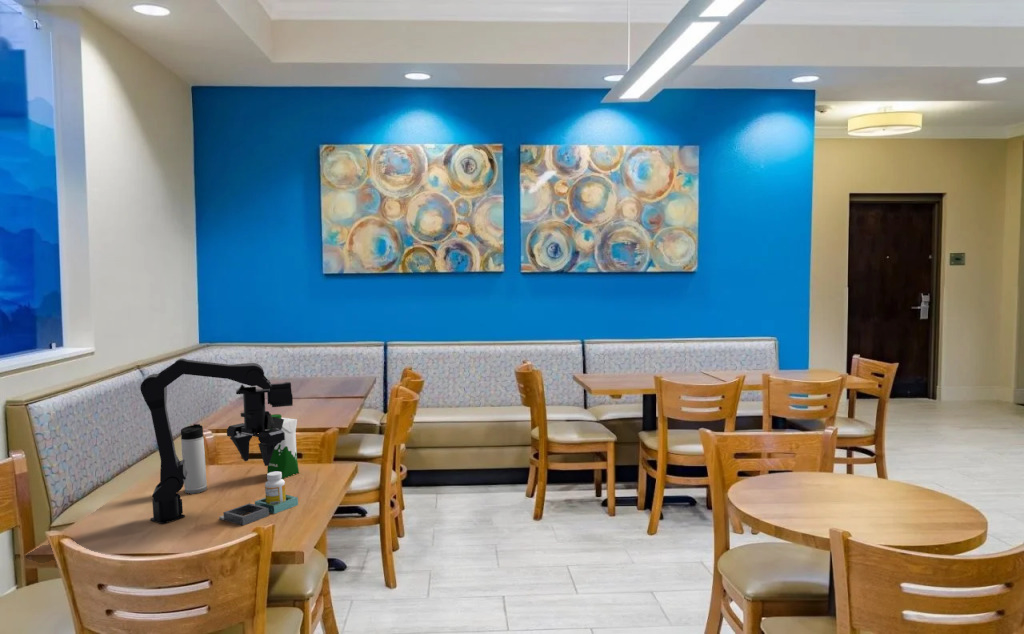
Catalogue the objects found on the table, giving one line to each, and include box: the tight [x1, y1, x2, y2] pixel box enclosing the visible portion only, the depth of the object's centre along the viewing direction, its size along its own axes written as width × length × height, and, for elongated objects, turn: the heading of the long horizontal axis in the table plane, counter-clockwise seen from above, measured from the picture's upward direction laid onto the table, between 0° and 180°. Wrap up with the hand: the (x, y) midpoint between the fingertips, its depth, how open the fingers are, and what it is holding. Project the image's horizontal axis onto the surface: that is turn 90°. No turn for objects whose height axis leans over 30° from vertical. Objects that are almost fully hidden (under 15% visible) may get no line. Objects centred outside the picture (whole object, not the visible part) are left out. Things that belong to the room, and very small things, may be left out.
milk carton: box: [265, 413, 300, 480], centre depth 235 cm, size 9×9×20 cm
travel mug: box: [180, 423, 208, 495], centre depth 221 cm, size 6×7×20 cm
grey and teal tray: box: [218, 494, 299, 526], centre depth 201 cm, size 18×10×2 cm, turn 147°
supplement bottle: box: [264, 471, 287, 505], centre depth 204 cm, size 5×5×10 cm
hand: (256, 463), depth 205 cm, fingers open, 9 cm apart
